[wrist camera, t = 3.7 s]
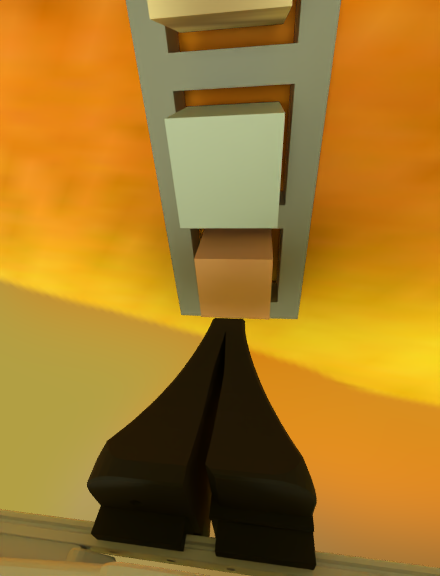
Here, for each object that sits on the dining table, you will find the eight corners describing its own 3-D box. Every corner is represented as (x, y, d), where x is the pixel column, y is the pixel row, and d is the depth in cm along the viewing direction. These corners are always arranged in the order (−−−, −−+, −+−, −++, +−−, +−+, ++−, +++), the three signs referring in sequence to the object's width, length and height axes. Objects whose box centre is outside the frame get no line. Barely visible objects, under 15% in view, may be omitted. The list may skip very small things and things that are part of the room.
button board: (359, -234, 9) (382, -305, 7) (294, 298, 22) (297, 319, 20) (114, -187, 10) (83, -241, 8) (187, 295, 23) (181, 314, 21)
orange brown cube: (270, 225, 18) (273, 259, 15) (268, 279, 20) (269, 319, 17) (205, 225, 18) (194, 258, 15) (210, 278, 21) (201, 316, 18)
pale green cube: (279, 101, 13) (285, 113, 9) (274, 194, 15) (277, 227, 12) (188, 106, 13) (164, 118, 10) (197, 195, 16) (180, 228, 12)
